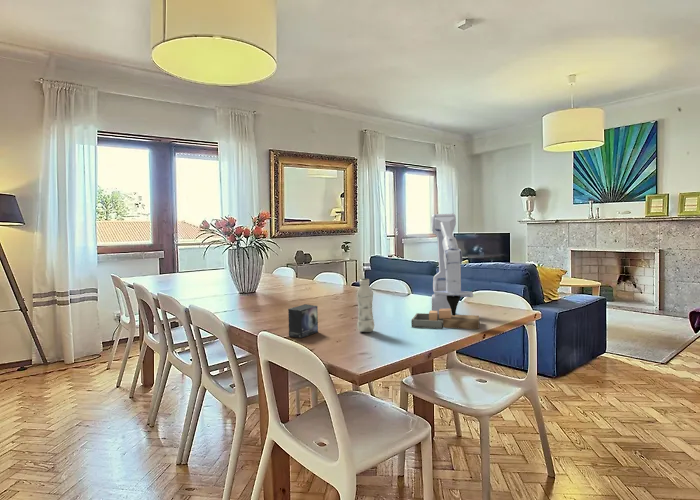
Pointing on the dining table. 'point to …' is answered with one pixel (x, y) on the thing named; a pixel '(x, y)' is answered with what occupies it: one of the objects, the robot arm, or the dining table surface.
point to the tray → (426, 321)
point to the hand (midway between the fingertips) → (453, 315)
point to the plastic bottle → (365, 307)
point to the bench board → (462, 322)
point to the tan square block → (433, 315)
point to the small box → (303, 320)
